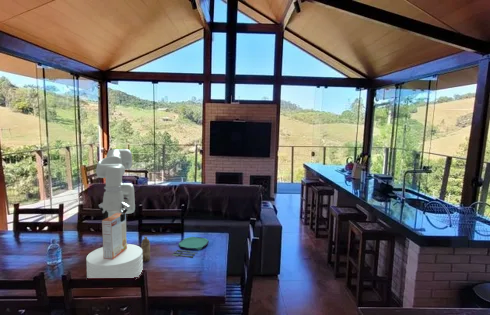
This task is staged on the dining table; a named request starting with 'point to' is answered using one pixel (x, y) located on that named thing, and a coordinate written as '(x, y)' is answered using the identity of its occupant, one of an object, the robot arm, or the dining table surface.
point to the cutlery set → (191, 245)
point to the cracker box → (114, 236)
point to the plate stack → (115, 263)
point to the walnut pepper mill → (145, 249)
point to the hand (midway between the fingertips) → (114, 220)
